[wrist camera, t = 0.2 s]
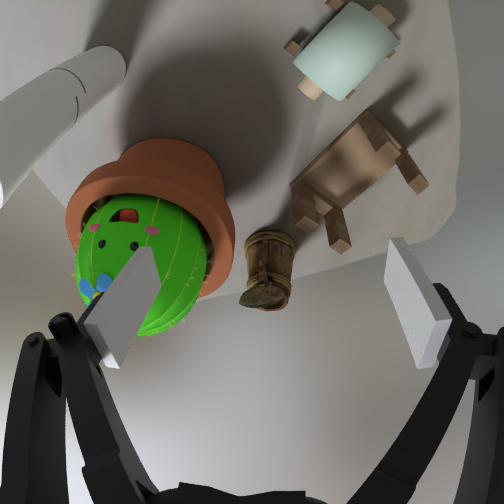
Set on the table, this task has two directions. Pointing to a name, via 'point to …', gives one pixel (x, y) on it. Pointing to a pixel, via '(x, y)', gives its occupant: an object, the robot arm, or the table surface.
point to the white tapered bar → (52, 110)
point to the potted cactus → (154, 225)
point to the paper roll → (346, 51)
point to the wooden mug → (268, 270)
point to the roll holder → (348, 176)
